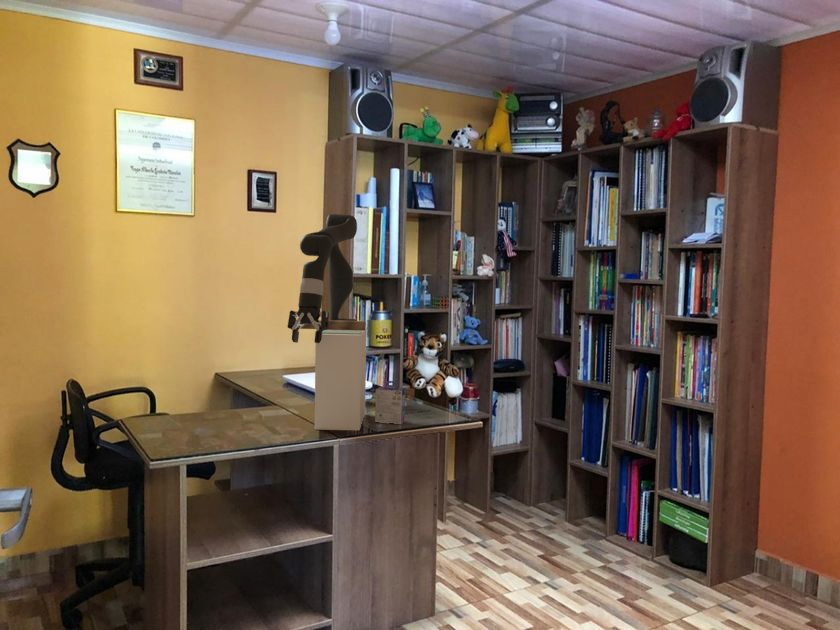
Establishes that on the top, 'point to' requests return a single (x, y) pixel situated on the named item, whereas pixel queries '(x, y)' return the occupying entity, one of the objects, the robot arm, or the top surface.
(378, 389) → the ink cartridge box
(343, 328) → the walnut rod
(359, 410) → the tall tan cardboard box
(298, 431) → the top surface
